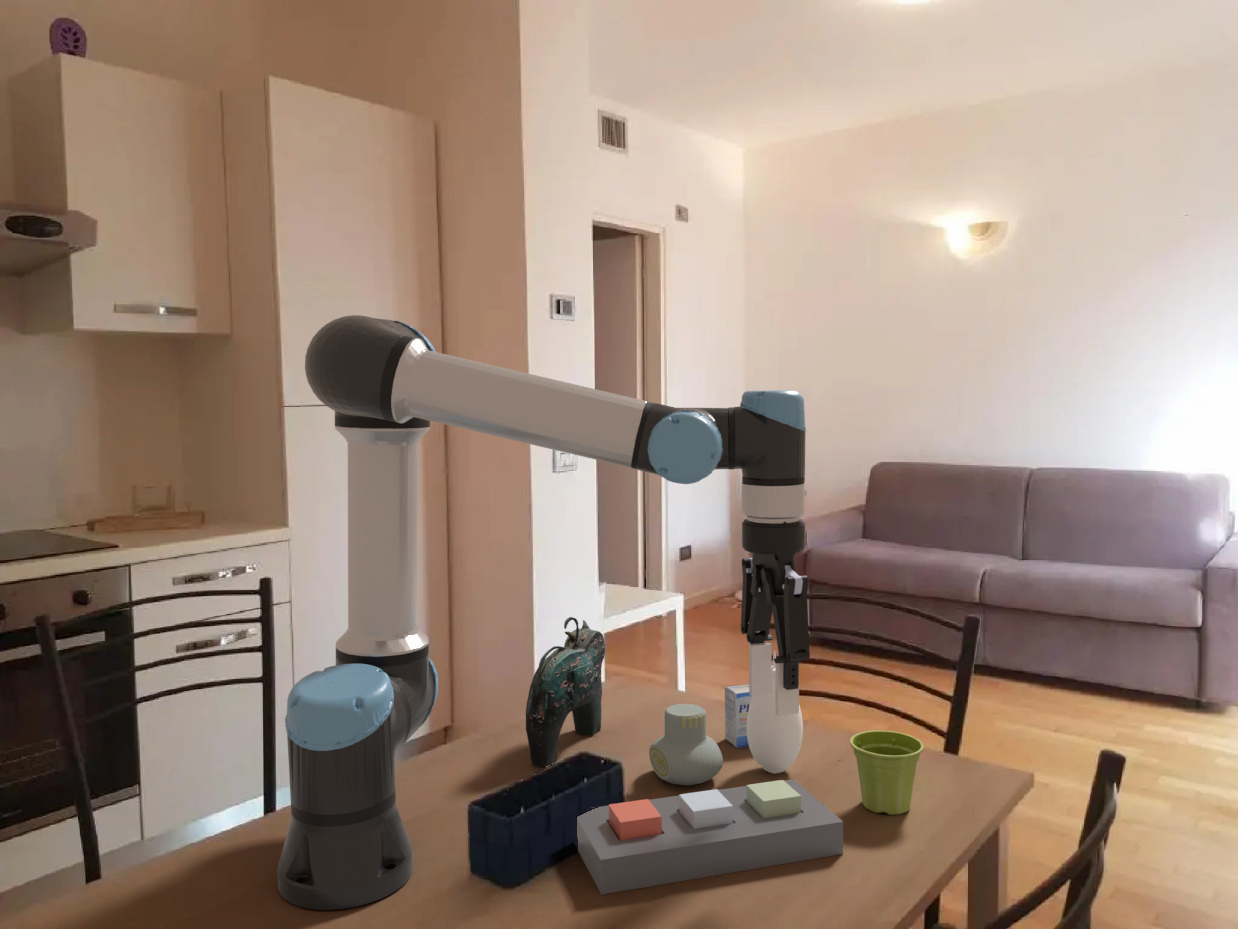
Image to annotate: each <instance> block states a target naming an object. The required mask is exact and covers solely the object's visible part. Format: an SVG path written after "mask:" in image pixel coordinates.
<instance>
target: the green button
mask: <svg viewBox="0 0 1238 929" xmlns="http://www.w3.org/2000/svg"><path fill="white" fill-rule="evenodd" d="M746 786H747V804H748V805H749V806H750V807H751V808H752V809H753V810H754V811H755V812H756V813H757V814H758V815H759V816H760V817H761V818H762V819H764V818H770V817H777V816H783V815H790V814H797V813H801V795H800V794H799V793H797V792H796V791H795V790H794V789H793V788H792V787H791V786H789V785H788V784H787V783H786V782H785V780H783V779H779V780H773V781H765V782H759V783H751V784H746Z"/></svg>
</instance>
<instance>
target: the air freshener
mask: <svg viewBox="0 0 1238 929" xmlns="http://www.w3.org/2000/svg"><path fill="white" fill-rule="evenodd" d="M706 714H707V711H706V710H705V709H704V708H703V707H702V706H701V705H698V704H692V703H691V704H690V703H677V704H676V703H675V704H673V705H669V706H668V707H666V709H665V710H664V735H661V736H660V737H658V738H657V739H656V740H655V741H654V742H652V743H651V745H650V746H649V749H648V756H649V761H650V765H651V766H652V769H653V771H654V773H655V774H656V775H657V776H658V778H660V779H661V780H663V781H665V782H667V783H669V784H672V785H677V786H678V785H679V786H696V785H699V784H702V783H703V784H704V783H705V782H707V781H710V780H712V779H713V778H714V777H716V776H717V775H718V774H719V772H720V771H721V770H722V768H723V765H724V758H723V754H722V752H721V751H722V750H721V749H720V747H719V745H718V744H717V742H716V741H715V740H714V739H713V738H712V737H710V736H708V735H707V715H706Z"/></svg>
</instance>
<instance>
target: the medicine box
mask: <svg viewBox="0 0 1238 929" xmlns="http://www.w3.org/2000/svg"><path fill="white" fill-rule="evenodd" d="M751 699H752V696H751V695H749V684H743V685H732V686H725V687H724V738H725V739H726V741H728V742H729V744H731V745H733V746H734V747H735V748H736V749H740V748H749V744H748V739H747V716H748V710H749V705H750V702H751Z"/></svg>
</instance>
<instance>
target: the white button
mask: <svg viewBox="0 0 1238 929" xmlns="http://www.w3.org/2000/svg"><path fill="white" fill-rule="evenodd" d="M718 790H719V789H716V788H714V789H710V790H702V791H701V790H700V791H694V792H688V793H681V794H678V796H679V814H680V815H681V816H682V817H683V819H684V820H685V821H686V822H687V824H688V825H689V826H690V827H691V828H692V829H699V828H705V827H712V826H718V825H725V824H731V823H733V805H732V804H731V803H730V802H729V801H728V800H727V799H726V798H725V797H724V796H723V795H722V794H721V793H720V792H719V791H718Z"/></svg>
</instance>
